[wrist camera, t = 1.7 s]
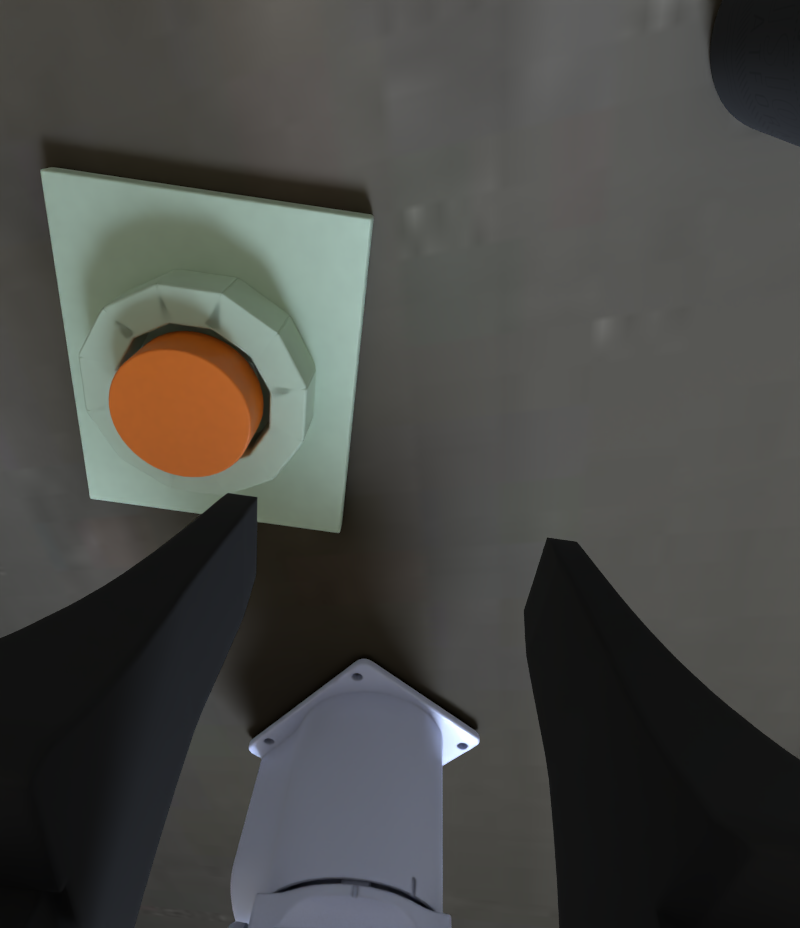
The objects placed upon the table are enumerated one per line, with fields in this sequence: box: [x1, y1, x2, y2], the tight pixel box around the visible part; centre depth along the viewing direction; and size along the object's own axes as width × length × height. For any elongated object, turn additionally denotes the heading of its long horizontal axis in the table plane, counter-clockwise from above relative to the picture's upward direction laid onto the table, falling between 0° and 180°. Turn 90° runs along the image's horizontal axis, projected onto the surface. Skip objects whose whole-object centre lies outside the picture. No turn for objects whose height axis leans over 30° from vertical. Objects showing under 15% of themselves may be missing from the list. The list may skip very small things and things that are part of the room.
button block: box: [40, 167, 373, 533], centre depth 21 cm, size 12×10×2 cm
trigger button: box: [109, 331, 264, 477], centre depth 20 cm, size 4×4×2 cm
